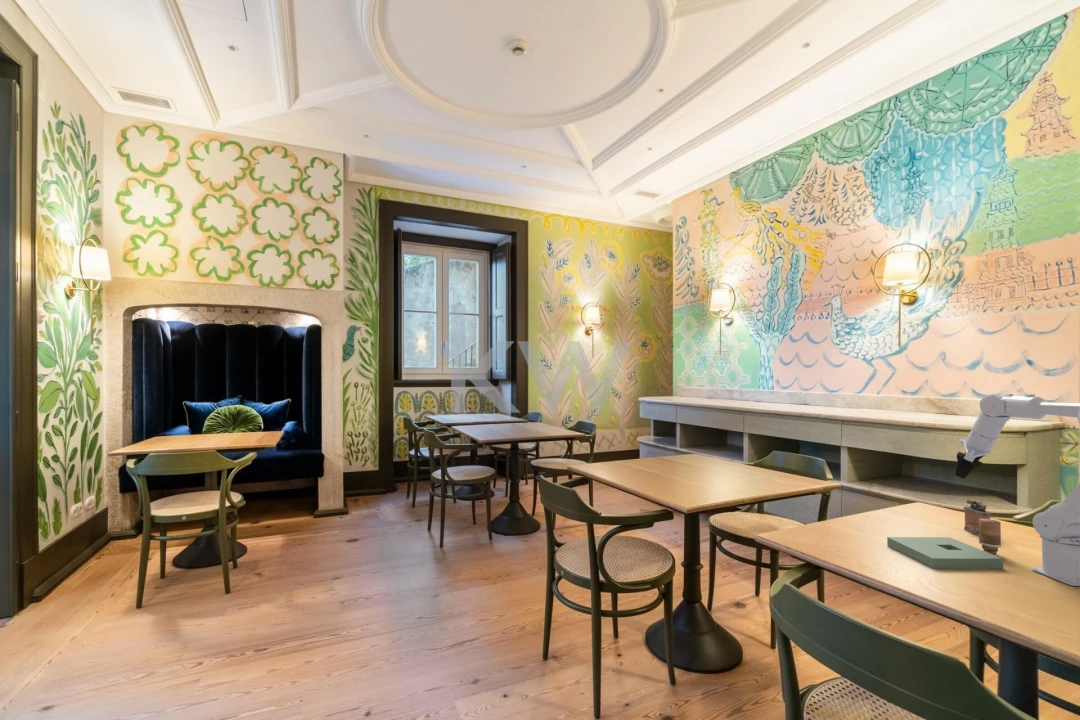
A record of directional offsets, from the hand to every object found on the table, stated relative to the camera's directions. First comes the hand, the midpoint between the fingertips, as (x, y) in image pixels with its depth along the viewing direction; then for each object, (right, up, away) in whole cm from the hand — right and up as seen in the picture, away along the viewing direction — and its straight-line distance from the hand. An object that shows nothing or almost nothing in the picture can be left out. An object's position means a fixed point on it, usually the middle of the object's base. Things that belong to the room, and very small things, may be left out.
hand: (963, 471), depth 143 cm
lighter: (+11, -21, +7) cm, 25 cm away
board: (-16, -20, -12) cm, 29 cm away
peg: (-1, -20, -10) cm, 23 cm away
